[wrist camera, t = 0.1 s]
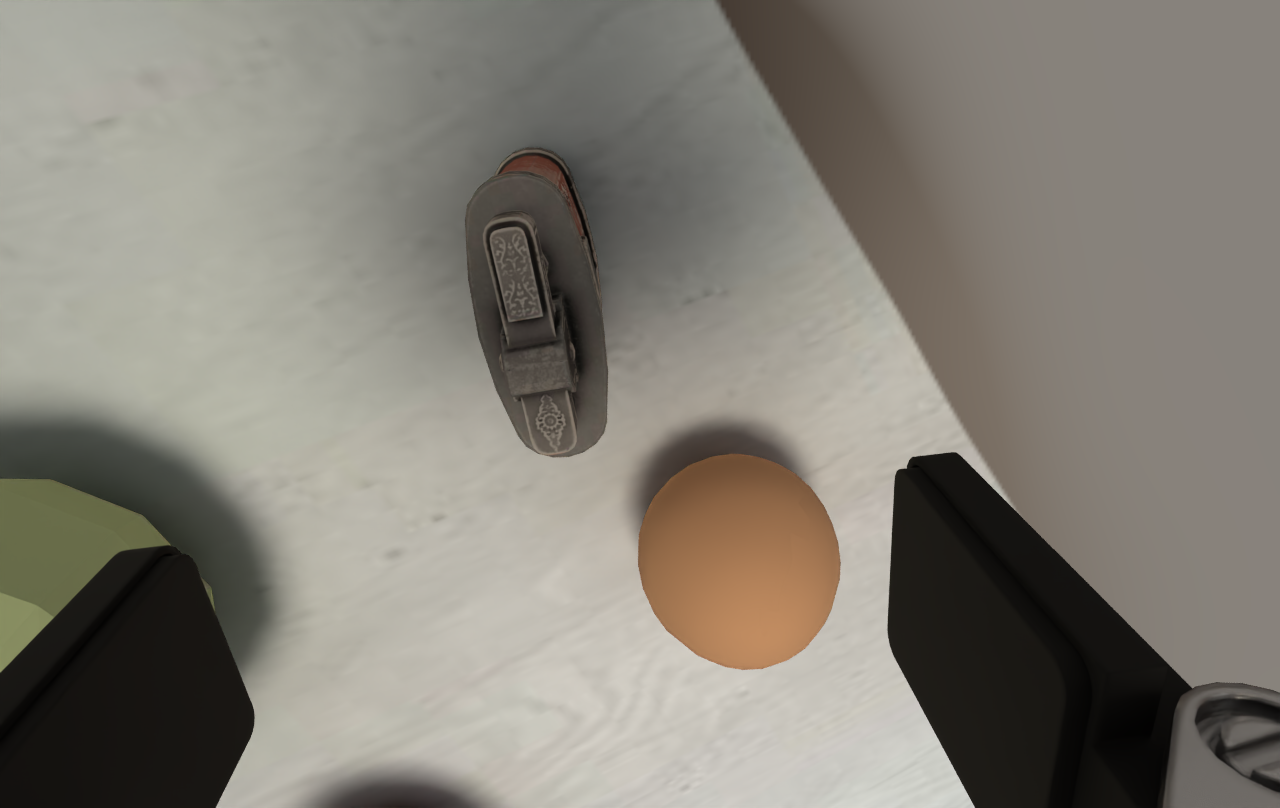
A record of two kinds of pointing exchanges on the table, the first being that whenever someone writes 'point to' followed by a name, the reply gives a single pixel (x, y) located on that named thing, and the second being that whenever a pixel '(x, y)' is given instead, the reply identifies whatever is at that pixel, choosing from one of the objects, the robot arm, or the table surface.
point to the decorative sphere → (56, 552)
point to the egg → (739, 561)
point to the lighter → (539, 302)
